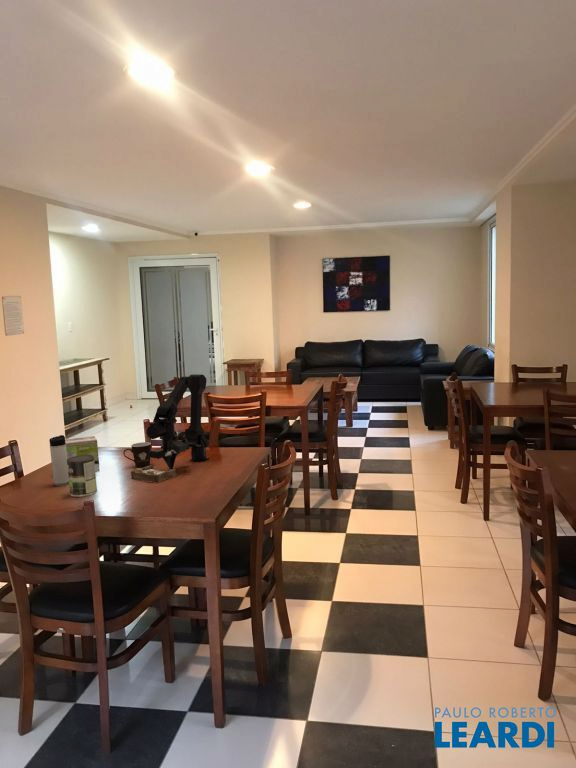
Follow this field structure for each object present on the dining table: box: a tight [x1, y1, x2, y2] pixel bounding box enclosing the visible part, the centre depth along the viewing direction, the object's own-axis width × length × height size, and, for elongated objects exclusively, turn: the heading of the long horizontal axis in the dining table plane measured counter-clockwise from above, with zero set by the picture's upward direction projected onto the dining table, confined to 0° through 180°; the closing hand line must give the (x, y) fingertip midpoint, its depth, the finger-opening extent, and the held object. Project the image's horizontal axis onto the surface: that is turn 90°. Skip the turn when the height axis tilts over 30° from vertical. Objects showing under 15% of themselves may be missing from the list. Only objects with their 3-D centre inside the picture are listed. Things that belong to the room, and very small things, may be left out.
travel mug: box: [49, 434, 69, 487], centre depth 256 cm, size 6×7×20 cm
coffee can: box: [67, 455, 98, 498], centre depth 242 cm, size 10×10×14 cm
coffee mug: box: [122, 441, 152, 469], centre depth 279 cm, size 12×9×10 cm
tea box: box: [65, 435, 100, 473], centre depth 274 cm, size 15×10×15 cm
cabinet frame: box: [130, 464, 178, 483], centre depth 259 cm, size 11×15×4 cm
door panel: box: [142, 468, 165, 475], centre depth 259 cm, size 7×11×4 cm, turn 53°
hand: (171, 469), depth 267 cm, fingers closed
